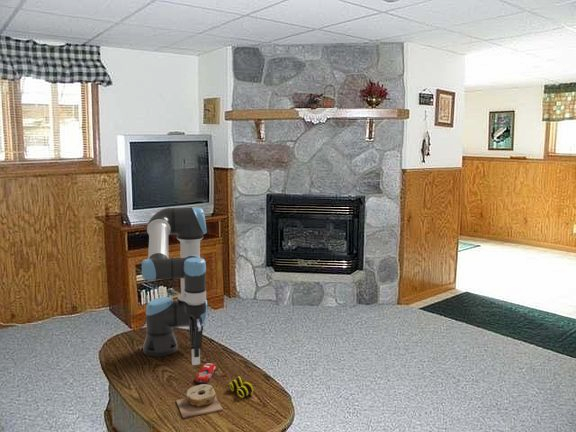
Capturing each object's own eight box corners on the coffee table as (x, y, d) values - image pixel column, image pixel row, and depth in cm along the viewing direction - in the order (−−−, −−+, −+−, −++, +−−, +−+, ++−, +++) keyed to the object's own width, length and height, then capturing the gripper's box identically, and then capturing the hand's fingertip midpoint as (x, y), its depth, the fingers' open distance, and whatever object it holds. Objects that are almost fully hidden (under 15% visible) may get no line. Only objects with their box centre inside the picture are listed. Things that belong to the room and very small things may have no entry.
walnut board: (176, 401, 178) (176, 400, 178) (213, 394, 184) (213, 392, 184) (182, 418, 167) (182, 417, 167) (222, 410, 173) (222, 408, 173)
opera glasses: (229, 391, 188) (226, 380, 187) (240, 384, 191) (238, 373, 190) (243, 401, 181) (241, 390, 179) (254, 394, 184) (252, 383, 182)
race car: (206, 385, 191) (206, 376, 190) (193, 384, 192) (193, 374, 191) (217, 370, 204) (217, 361, 203) (205, 368, 204) (205, 359, 204)
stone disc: (182, 398, 179) (194, 412, 171) (181, 389, 178) (194, 402, 171) (207, 389, 185) (220, 402, 178) (207, 380, 185) (220, 393, 177)
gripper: (180, 297, 178) (181, 357, 182) (188, 309, 166) (189, 373, 170) (201, 294, 181) (201, 354, 185) (210, 306, 169) (210, 370, 173)
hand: (195, 363), depth 177 cm, fingers closed
